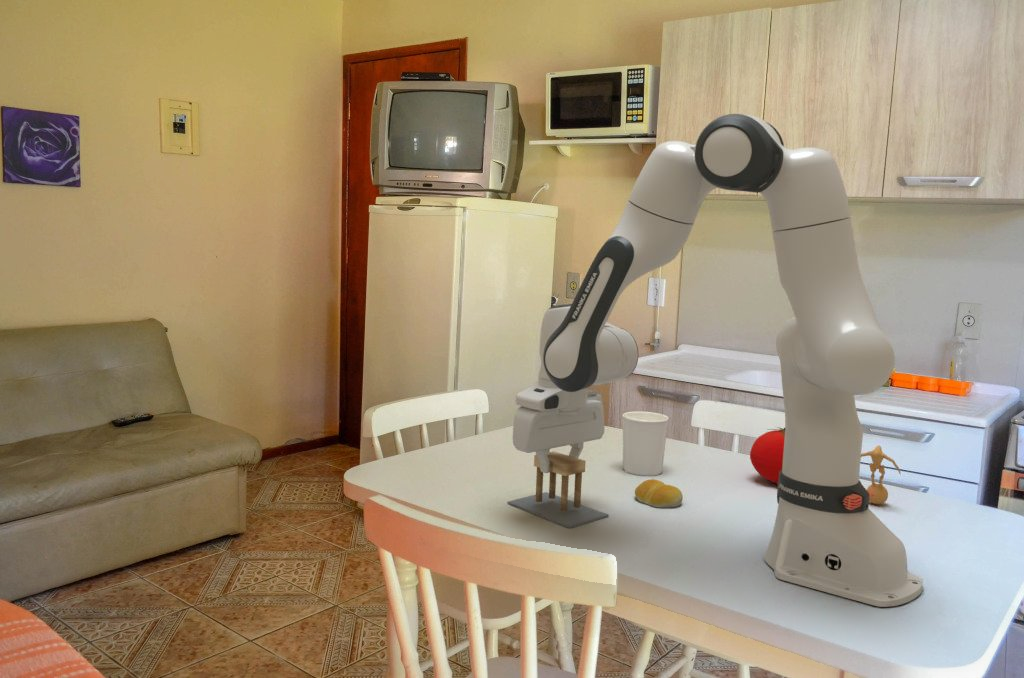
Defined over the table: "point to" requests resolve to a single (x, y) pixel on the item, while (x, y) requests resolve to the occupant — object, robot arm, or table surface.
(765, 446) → the tomato
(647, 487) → the bread roll
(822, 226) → the robot arm
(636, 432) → the candle holder
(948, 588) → the table surface
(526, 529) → the table surface
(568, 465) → the stool
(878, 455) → the figurine
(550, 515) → the mat
